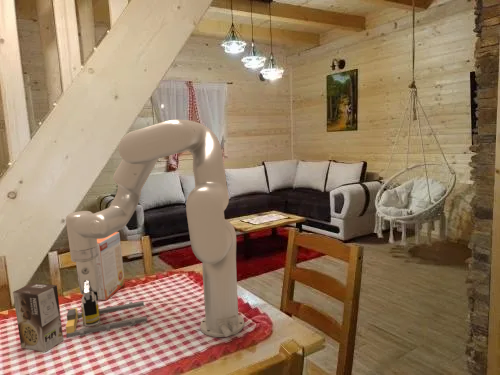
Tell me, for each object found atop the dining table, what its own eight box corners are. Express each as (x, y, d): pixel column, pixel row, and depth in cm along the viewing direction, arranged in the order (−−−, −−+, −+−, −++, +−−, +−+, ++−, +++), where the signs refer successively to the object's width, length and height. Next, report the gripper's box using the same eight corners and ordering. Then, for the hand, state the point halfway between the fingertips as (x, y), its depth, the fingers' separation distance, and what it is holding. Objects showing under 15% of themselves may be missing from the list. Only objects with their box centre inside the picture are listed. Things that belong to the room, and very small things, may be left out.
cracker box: (110, 284, 141) (105, 231, 138) (125, 284, 140) (120, 231, 138) (90, 300, 128) (84, 242, 125) (106, 301, 127) (100, 242, 124)
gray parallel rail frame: (147, 322, 110) (147, 319, 110) (66, 339, 103) (66, 336, 103) (143, 302, 124) (143, 299, 124) (71, 316, 117) (71, 313, 117)
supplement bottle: (103, 320, 113) (100, 294, 112) (91, 328, 109) (88, 301, 108) (92, 317, 115) (89, 292, 114) (79, 325, 111) (76, 298, 110)
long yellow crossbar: (74, 335, 105) (73, 320, 104) (66, 336, 104) (65, 322, 104) (78, 316, 116) (76, 303, 115) (71, 318, 115) (69, 304, 115)
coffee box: (64, 339, 103) (58, 284, 101) (45, 353, 97) (37, 294, 95) (39, 335, 106) (33, 281, 104) (19, 347, 100) (11, 291, 98)
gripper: (97, 259, 102) (104, 317, 104) (99, 243, 118) (105, 294, 121) (67, 264, 100) (75, 323, 102) (73, 247, 116) (80, 299, 118)
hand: (91, 307), depth 111 cm, fingers open, 9 cm apart
